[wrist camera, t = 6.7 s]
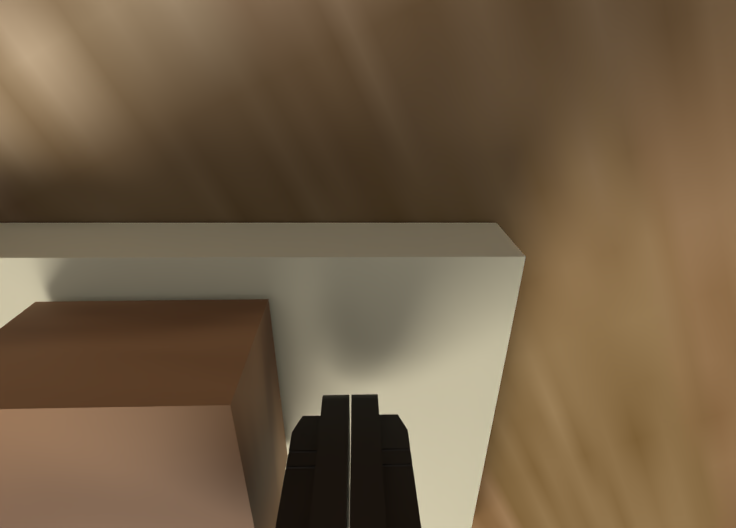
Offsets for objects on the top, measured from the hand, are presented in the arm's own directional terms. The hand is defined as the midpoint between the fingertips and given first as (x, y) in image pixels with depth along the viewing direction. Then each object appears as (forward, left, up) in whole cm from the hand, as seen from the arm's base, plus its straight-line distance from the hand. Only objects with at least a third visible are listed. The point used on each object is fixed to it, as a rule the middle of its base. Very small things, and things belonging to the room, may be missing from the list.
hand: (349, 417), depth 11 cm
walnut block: (0, -5, -1) cm, 5 cm away
